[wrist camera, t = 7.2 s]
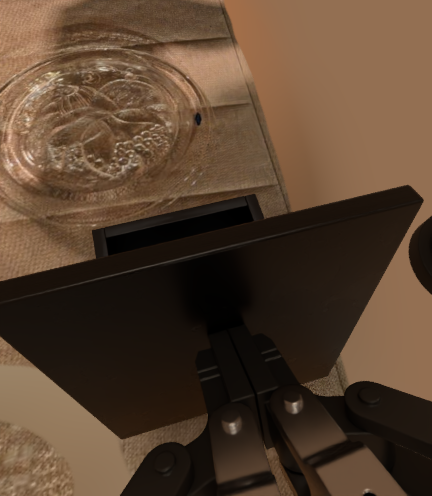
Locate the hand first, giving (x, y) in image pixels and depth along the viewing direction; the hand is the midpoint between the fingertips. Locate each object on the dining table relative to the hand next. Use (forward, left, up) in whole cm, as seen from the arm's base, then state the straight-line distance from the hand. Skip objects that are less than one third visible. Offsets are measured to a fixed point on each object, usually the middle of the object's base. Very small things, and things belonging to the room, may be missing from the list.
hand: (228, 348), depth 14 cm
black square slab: (+1, 0, -2) cm, 2 cm away
